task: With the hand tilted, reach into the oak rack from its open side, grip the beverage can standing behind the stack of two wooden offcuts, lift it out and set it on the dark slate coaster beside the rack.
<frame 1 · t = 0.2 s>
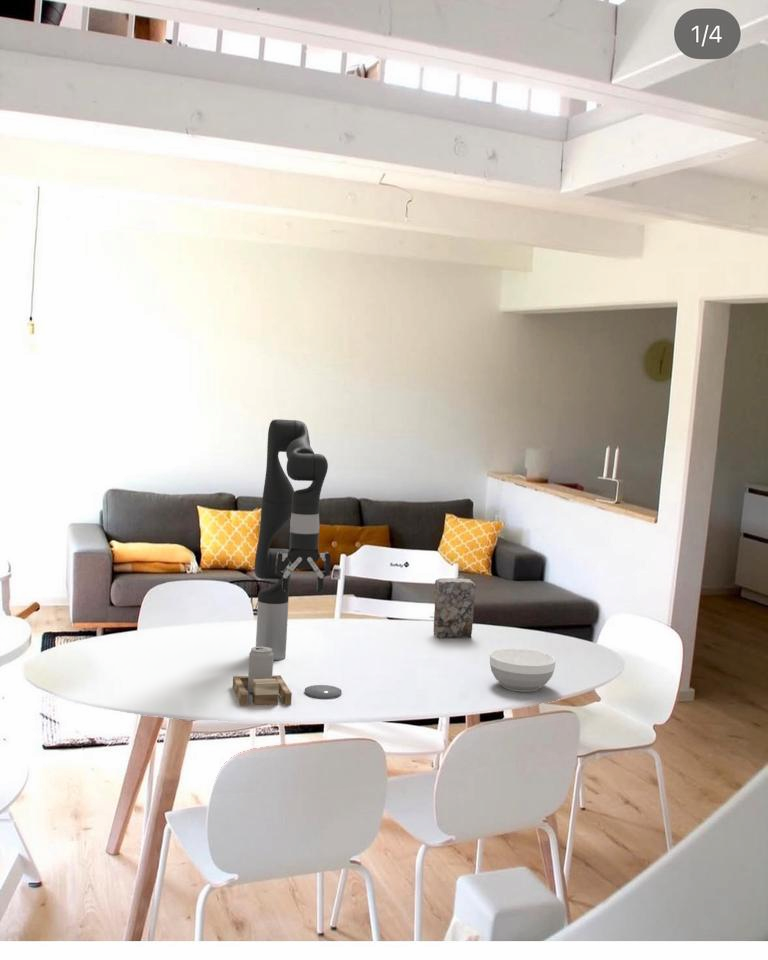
hand: (302, 591, 266), 29 cm above the table, fingers open, 8 cm apart
bowl: (520, 687, 294), on the table
stone block: (452, 637, 352), on the table
birch offcut: (265, 692, 265), point 3 cm above the table, touching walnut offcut
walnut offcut: (265, 703, 265), on the table, touching birch offcut
rack: (261, 695, 271), on the table
beverage can: (259, 693, 274), resting in rack
slate coaster: (323, 693, 277), on the table
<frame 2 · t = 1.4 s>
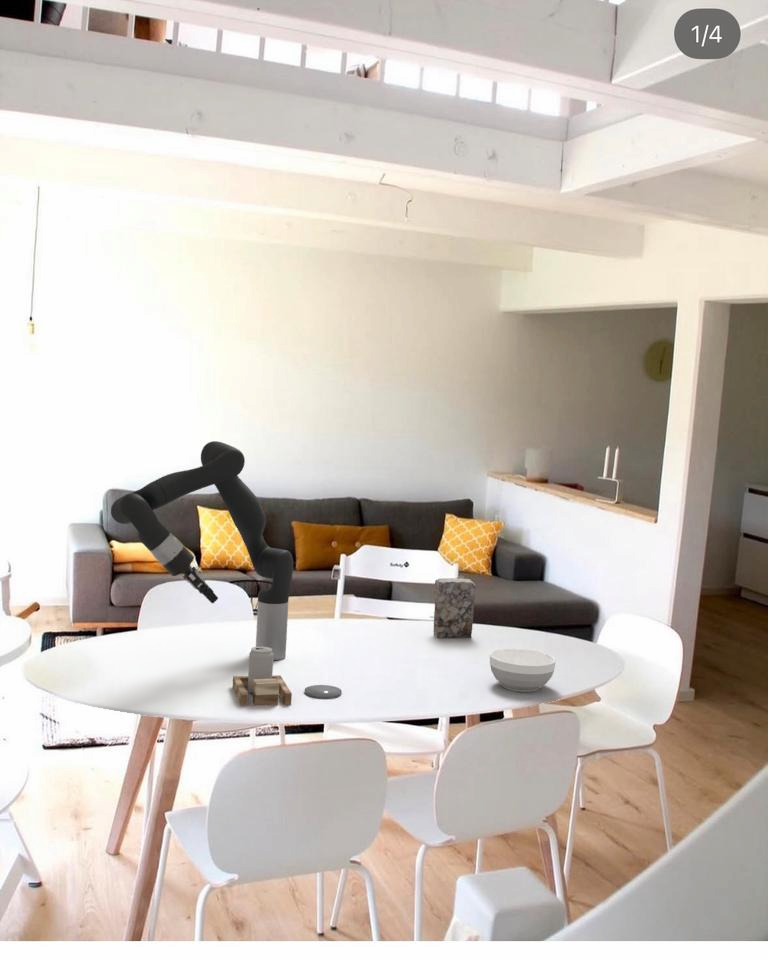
hand: (213, 597, 272), 25 cm above the table, fingers open, 8 cm apart
nothing on the table moved.
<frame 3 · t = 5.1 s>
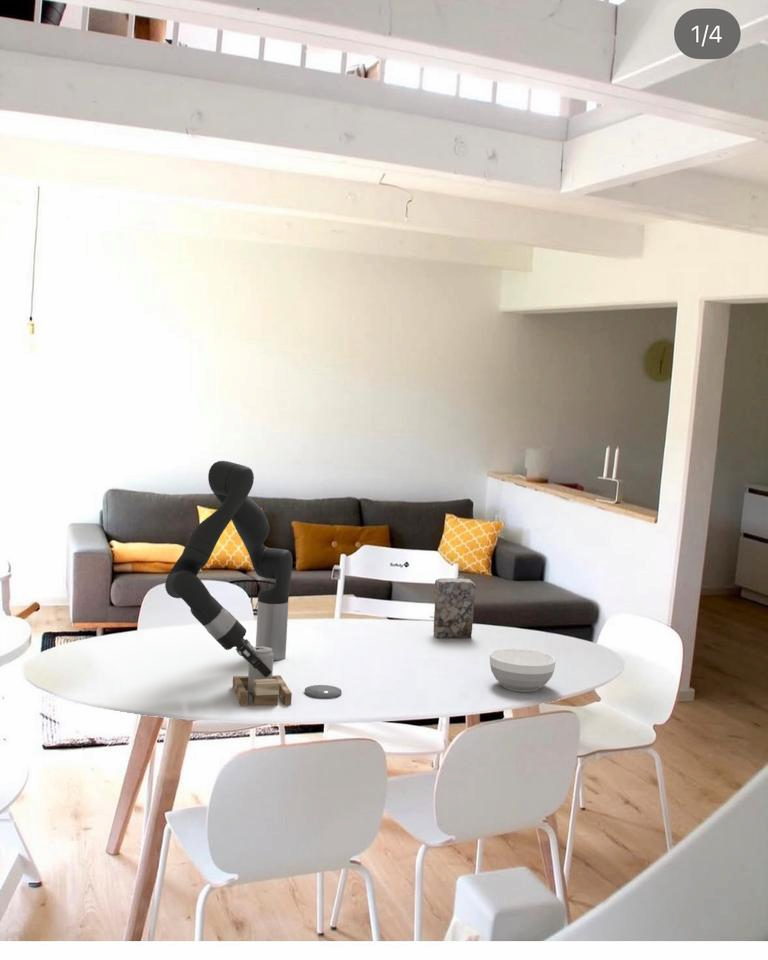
hand: (266, 670, 274), 6 cm above the table, fingers closed on beverage can, 6 cm apart
beverage can: (259, 693, 274), resting in rack, touching gripper
everything else where it was.
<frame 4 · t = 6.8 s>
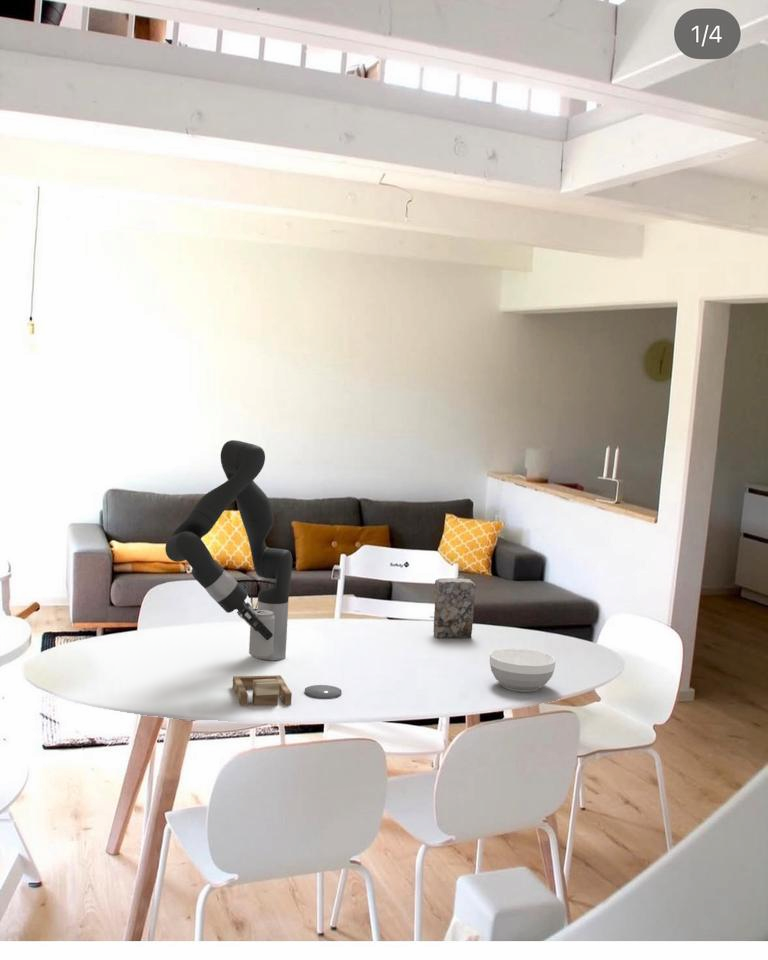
hand: (268, 634, 273), 16 cm above the table, fingers closed on beverage can, 6 cm apart
beverage can: (260, 656, 273), point 10 cm above the table, touching gripper
everything else where it was.
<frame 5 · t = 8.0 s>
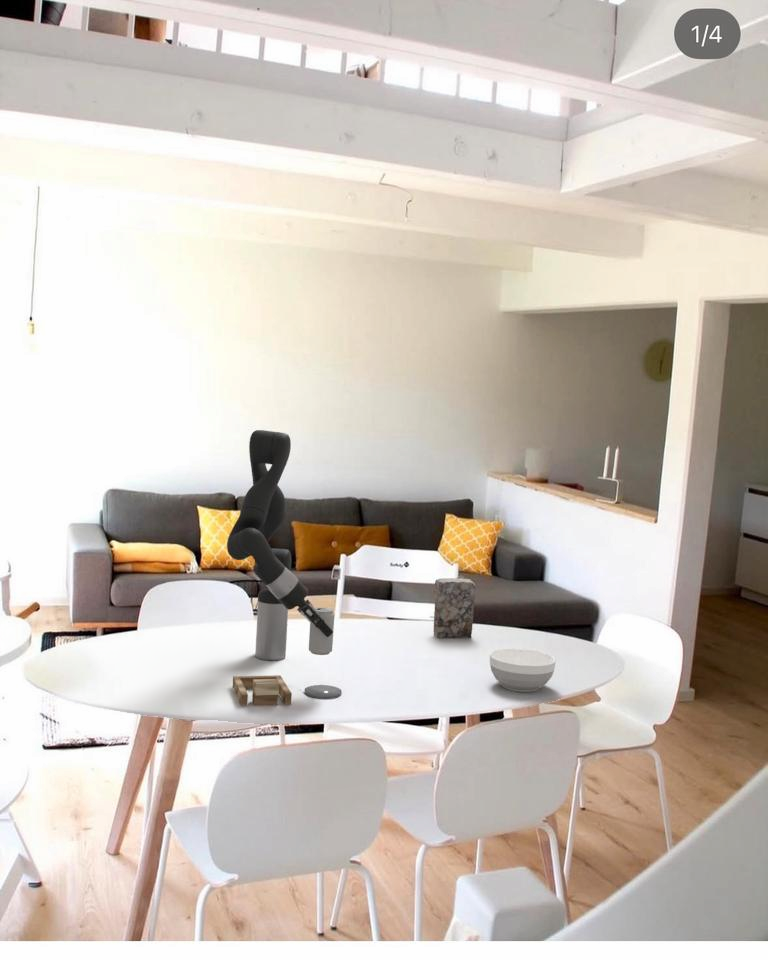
hand: (327, 631, 275), 17 cm above the table, fingers closed on beverage can, 6 cm apart
beverage can: (320, 653, 276), point 11 cm above the table, touching gripper
everything else where it was.
when the fingers open (7 cm above the table, at t = 10.6 s): beverage can stays where it is, resting on slate coaster.
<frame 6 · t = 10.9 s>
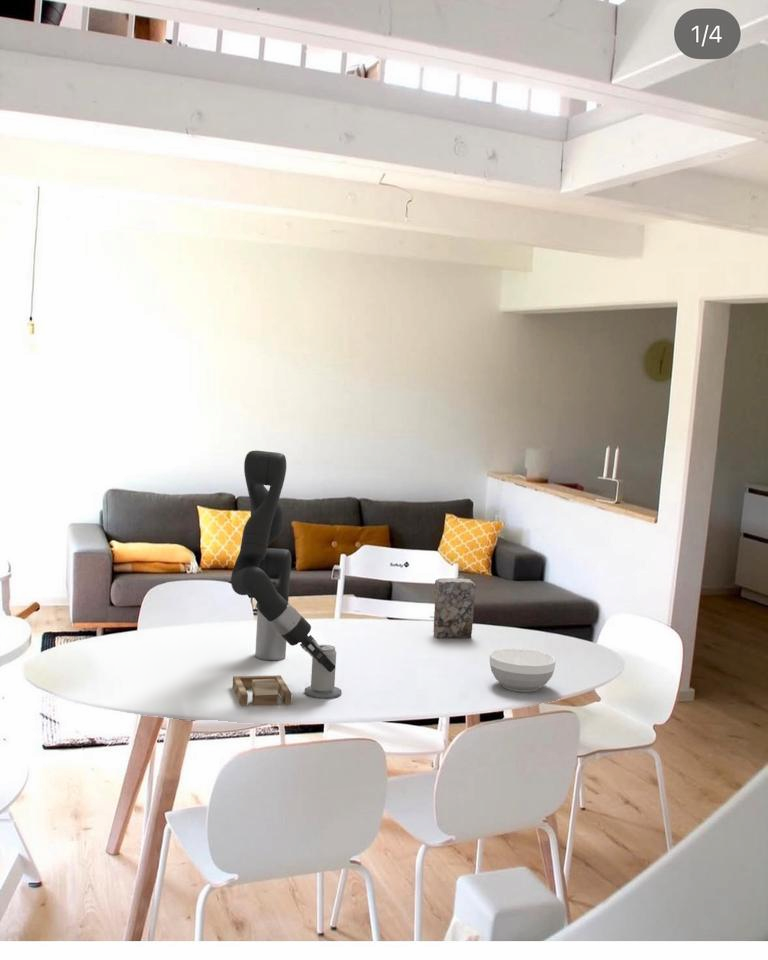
hand: (329, 665, 276), 8 cm above the table, fingers open, 8 cm apart
beverage can: (322, 691, 276), point 1 cm above the table, touching slate coaster
everything else where it was.
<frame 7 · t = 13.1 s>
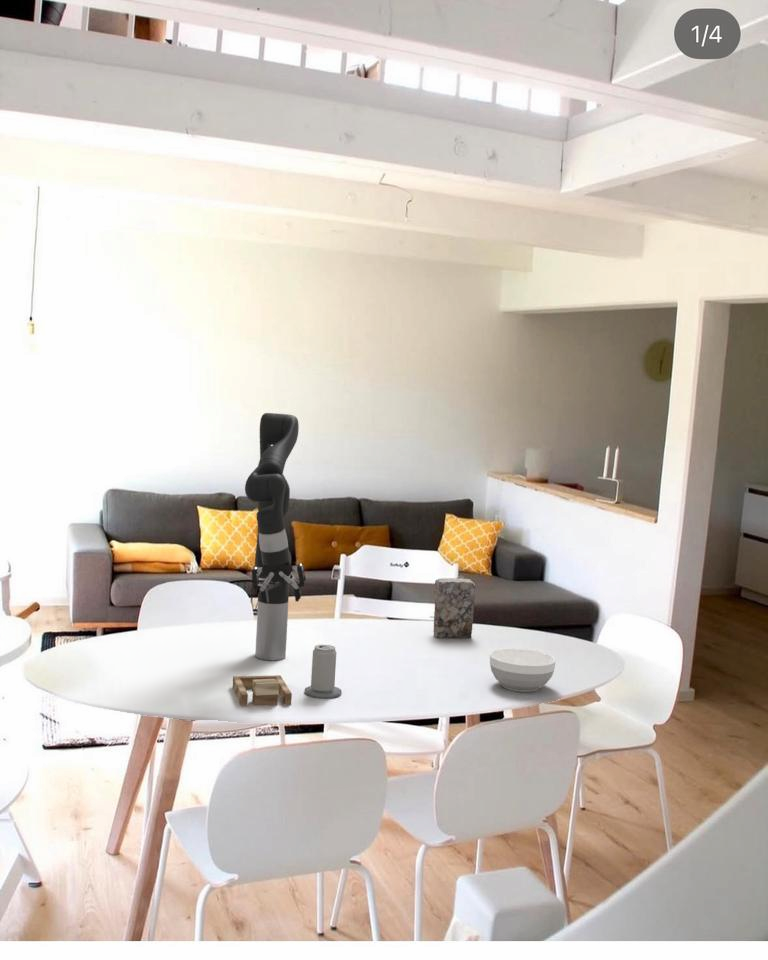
hand: (282, 601, 279), 24 cm above the table, fingers open, 8 cm apart
nothing on the table moved.
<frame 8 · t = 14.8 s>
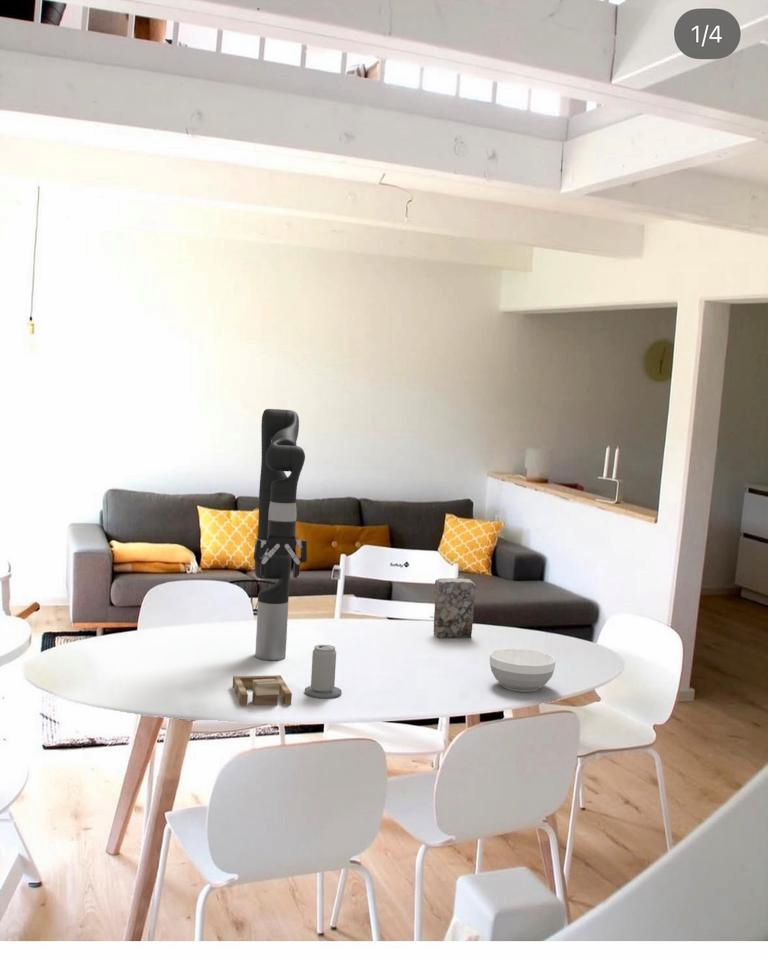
hand: (279, 577, 279), 30 cm above the table, fingers open, 8 cm apart
nothing on the table moved.
at the end: beverage can 0.2 cm from the slate coaster (horizontally); beverage can tilted 0°; the gripper is holding nothing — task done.
